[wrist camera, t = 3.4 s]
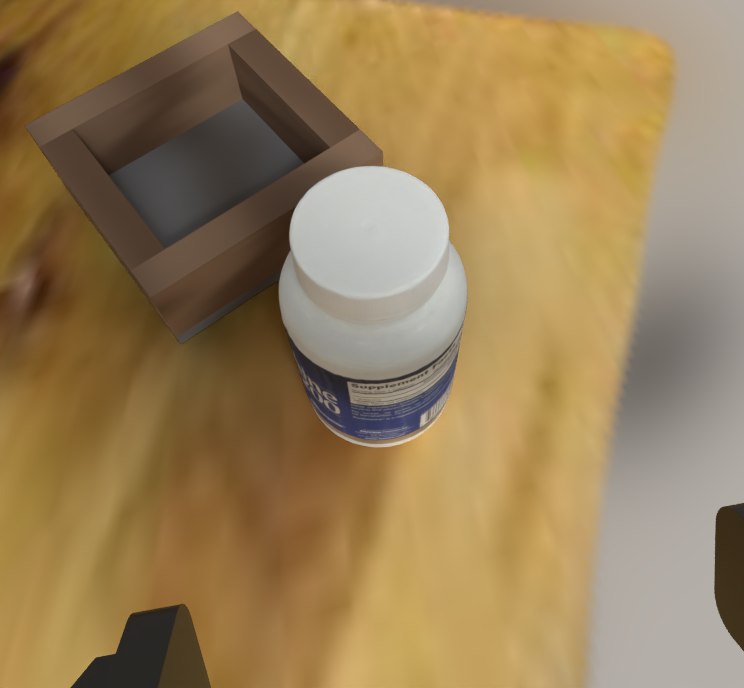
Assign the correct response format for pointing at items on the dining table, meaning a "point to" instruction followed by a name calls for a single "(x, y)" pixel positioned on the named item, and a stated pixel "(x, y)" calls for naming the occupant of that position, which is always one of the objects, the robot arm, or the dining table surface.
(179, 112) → the square tray
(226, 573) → the dining table surface
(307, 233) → the pill bottle
